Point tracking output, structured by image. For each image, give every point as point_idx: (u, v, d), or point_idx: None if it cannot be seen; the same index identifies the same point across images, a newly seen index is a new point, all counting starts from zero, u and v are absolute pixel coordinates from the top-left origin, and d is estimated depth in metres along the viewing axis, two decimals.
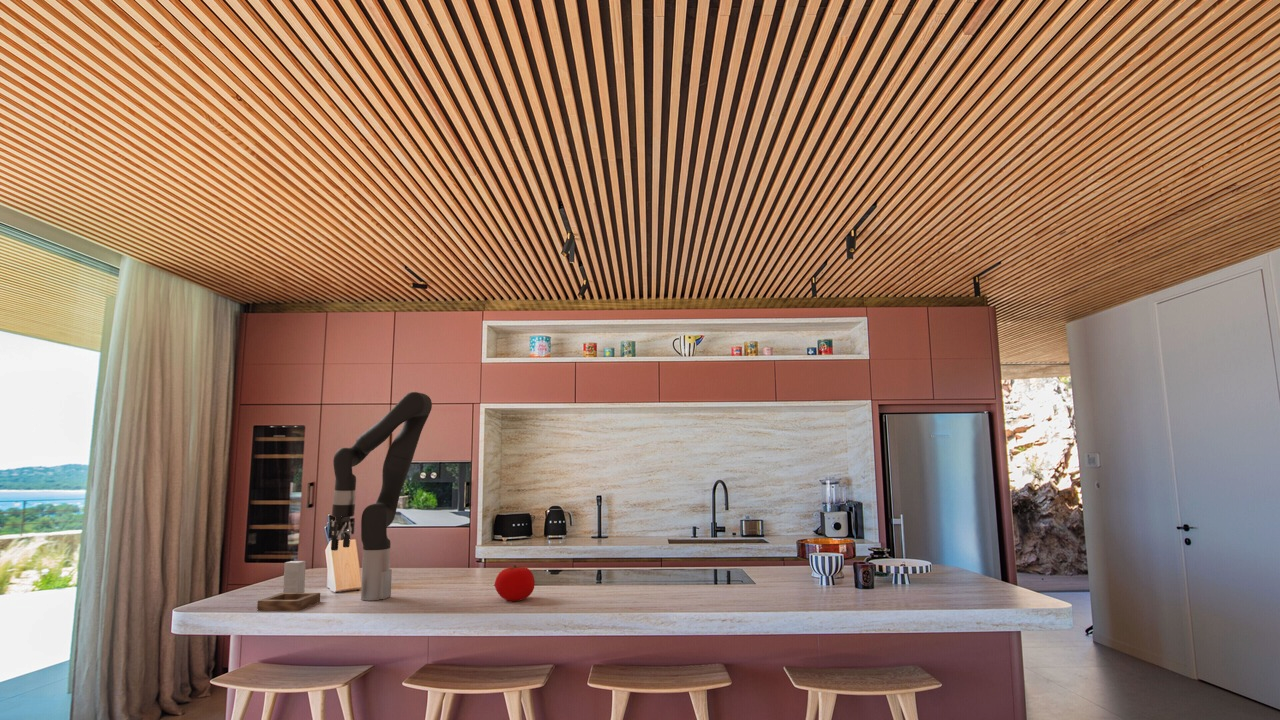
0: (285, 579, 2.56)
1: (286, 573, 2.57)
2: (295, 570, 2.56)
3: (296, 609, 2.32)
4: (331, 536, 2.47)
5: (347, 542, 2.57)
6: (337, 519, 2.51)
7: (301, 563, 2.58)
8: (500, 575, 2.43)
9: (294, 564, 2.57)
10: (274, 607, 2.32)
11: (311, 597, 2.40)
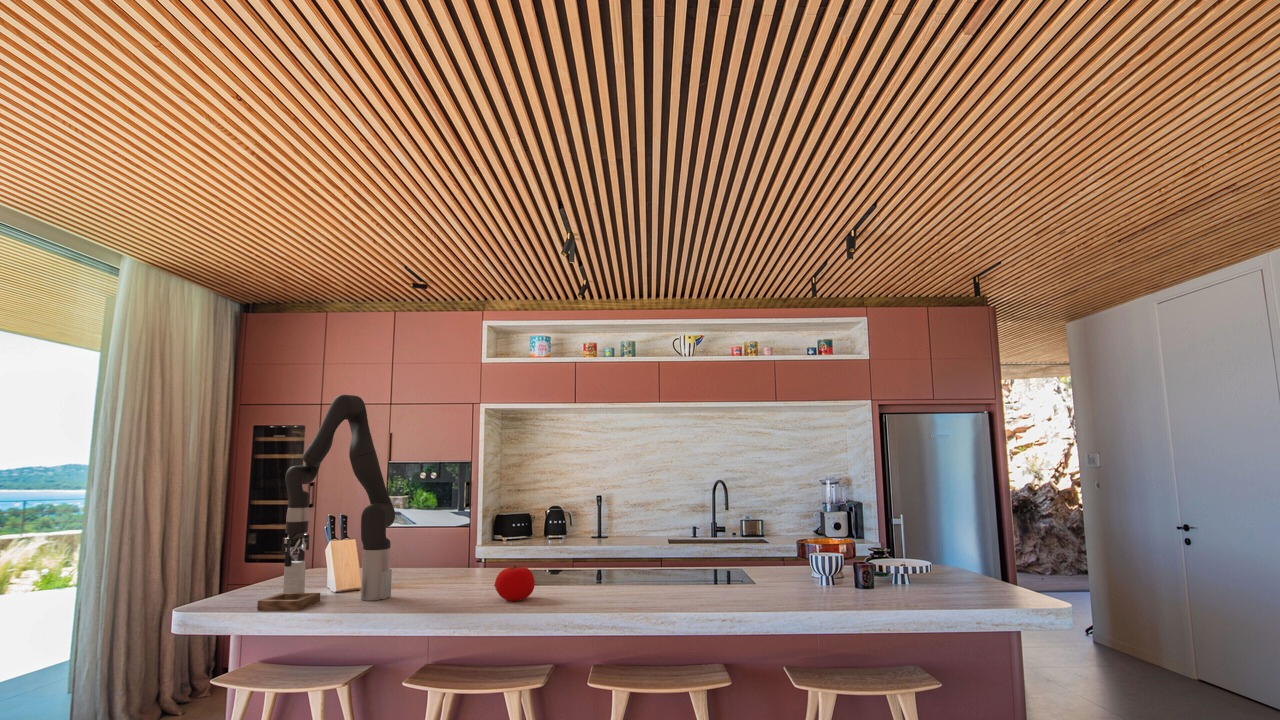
0: (285, 579, 2.56)
1: (286, 573, 2.57)
2: (295, 570, 2.56)
3: (296, 609, 2.32)
4: (284, 553, 2.52)
5: (302, 558, 2.63)
6: (290, 536, 2.56)
7: (301, 563, 2.58)
8: (500, 575, 2.43)
9: (294, 564, 2.57)
10: (274, 607, 2.32)
11: (311, 597, 2.40)
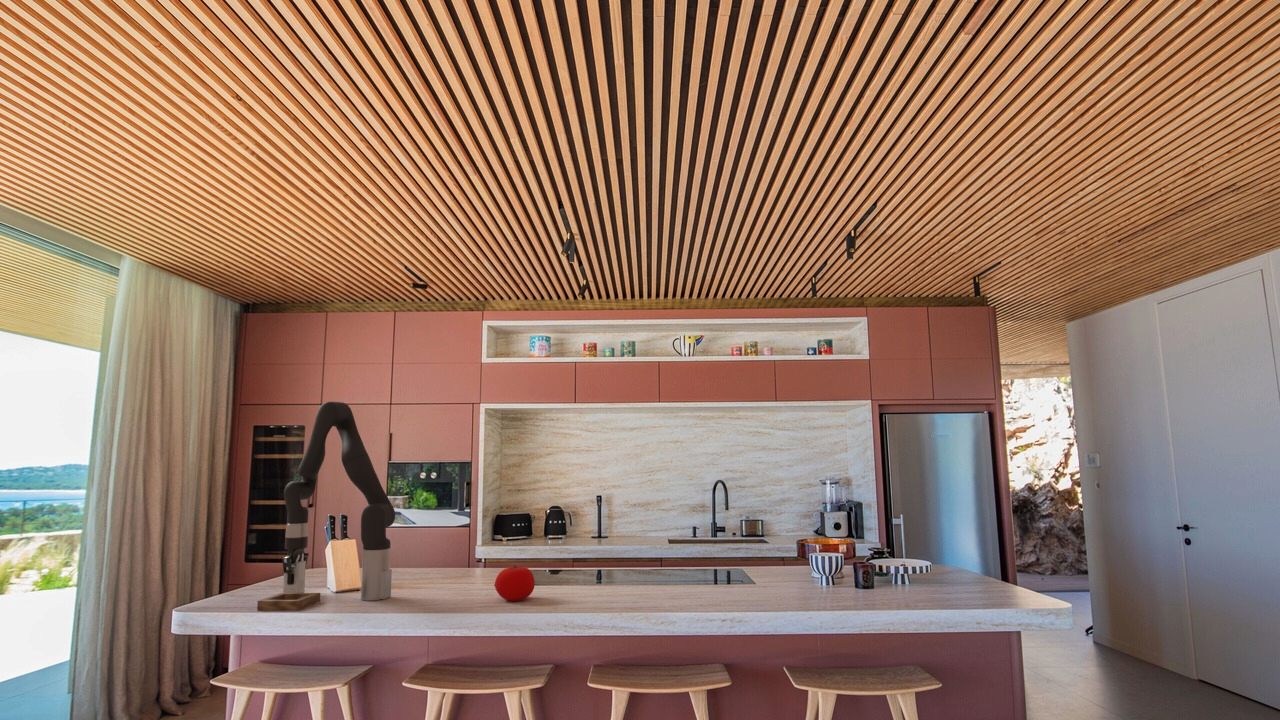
0: (285, 579, 2.56)
1: None
2: None
3: (296, 609, 2.32)
4: (286, 571, 2.53)
5: None
6: (290, 552, 2.56)
7: (301, 563, 2.58)
8: (500, 575, 2.43)
9: None
10: (274, 607, 2.32)
11: (311, 597, 2.40)
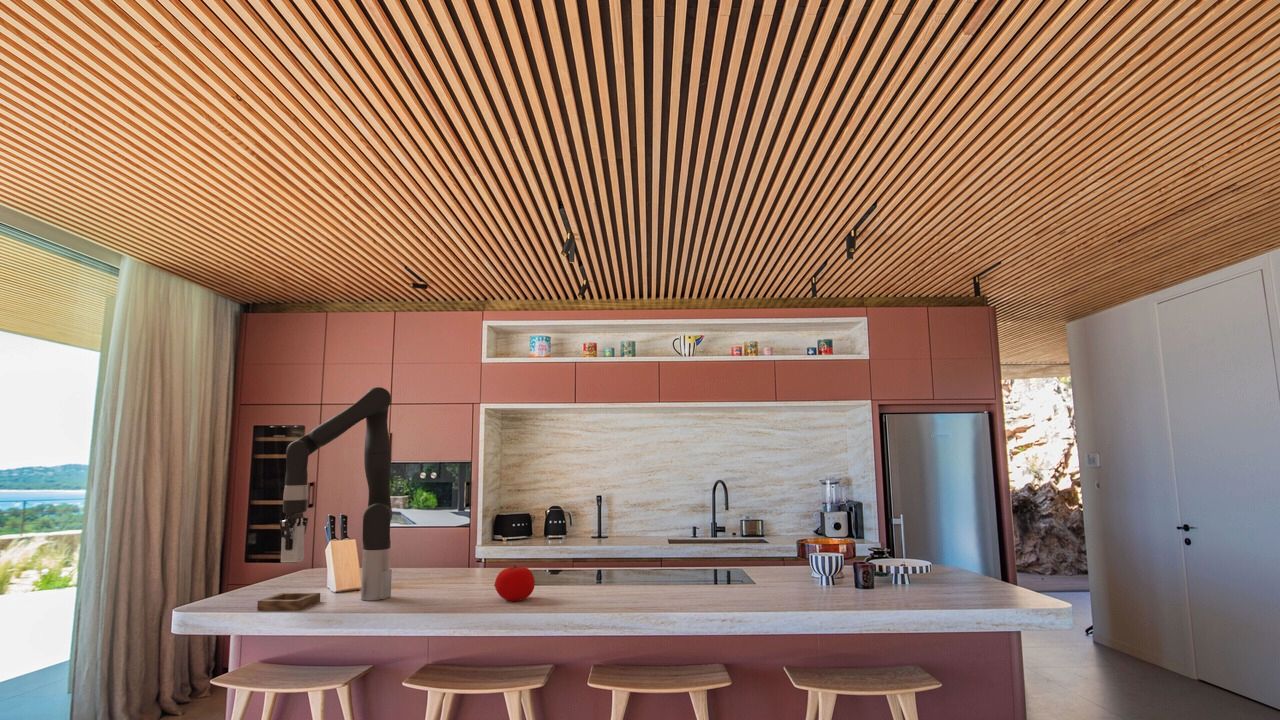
0: (283, 544, 2.40)
1: (284, 538, 2.40)
2: (293, 535, 2.40)
3: (296, 609, 2.32)
4: (284, 535, 2.37)
5: None
6: (288, 515, 2.39)
7: (300, 527, 2.41)
8: (500, 575, 2.43)
9: (292, 528, 2.40)
10: (274, 607, 2.32)
11: (311, 597, 2.40)
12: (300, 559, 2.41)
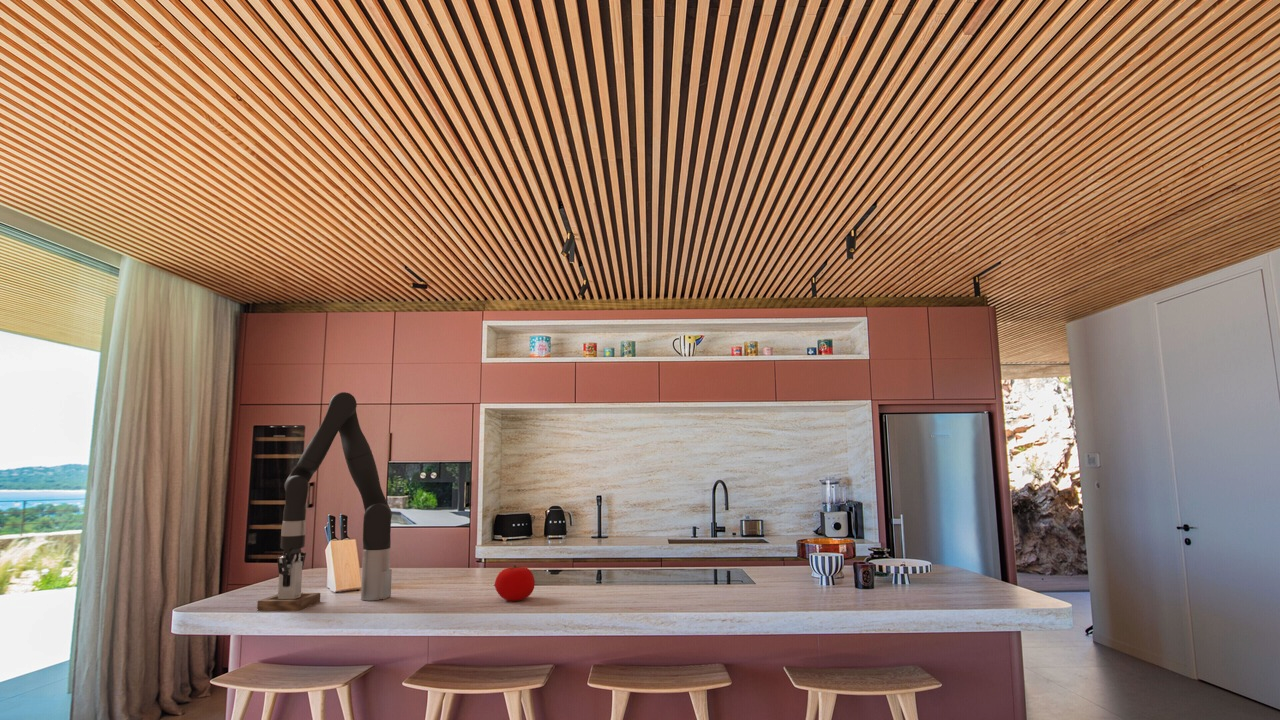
0: (280, 580, 2.38)
1: (281, 574, 2.38)
2: None
3: (296, 609, 2.32)
4: (282, 572, 2.35)
5: None
6: (285, 551, 2.38)
7: (297, 563, 2.40)
8: (500, 575, 2.43)
9: None
10: (274, 607, 2.32)
11: (311, 597, 2.40)
12: (297, 595, 2.39)
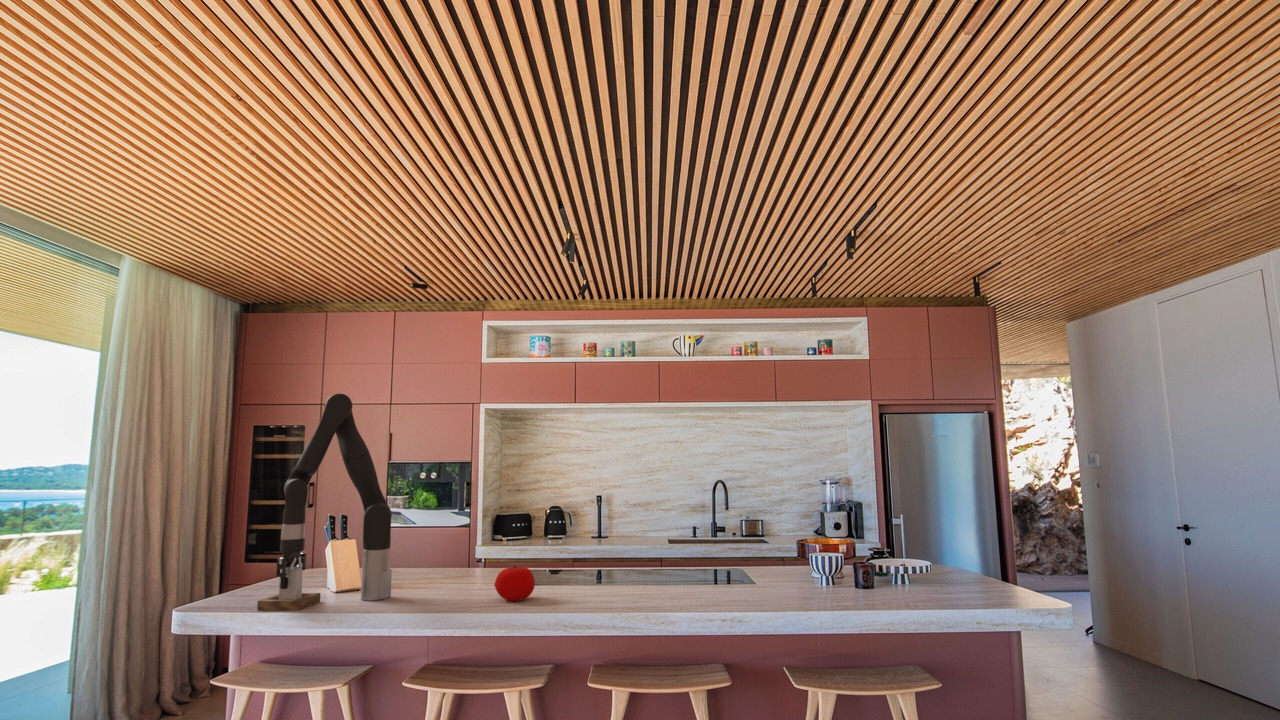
0: (280, 588, 2.38)
1: None
2: (291, 579, 2.38)
3: (296, 609, 2.32)
4: (279, 574, 2.34)
5: None
6: (285, 555, 2.37)
7: (298, 571, 2.39)
8: (500, 575, 2.43)
9: (290, 572, 2.38)
10: (274, 607, 2.32)
11: (311, 597, 2.40)
12: None
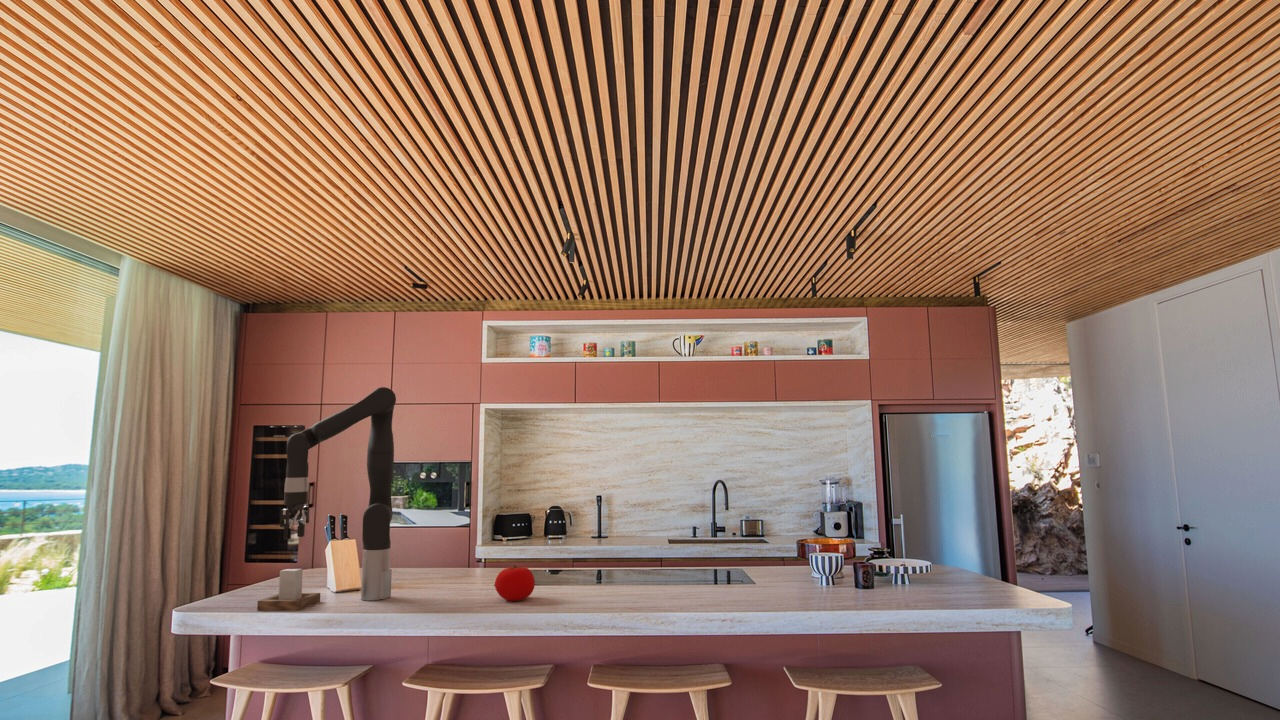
0: (280, 588, 2.38)
1: (281, 582, 2.38)
2: (291, 579, 2.38)
3: (296, 609, 2.32)
4: (283, 525, 2.37)
5: (301, 531, 2.47)
6: (289, 507, 2.41)
7: (298, 571, 2.39)
8: (500, 575, 2.43)
9: (290, 572, 2.38)
10: (274, 607, 2.32)
11: (311, 597, 2.40)
12: None
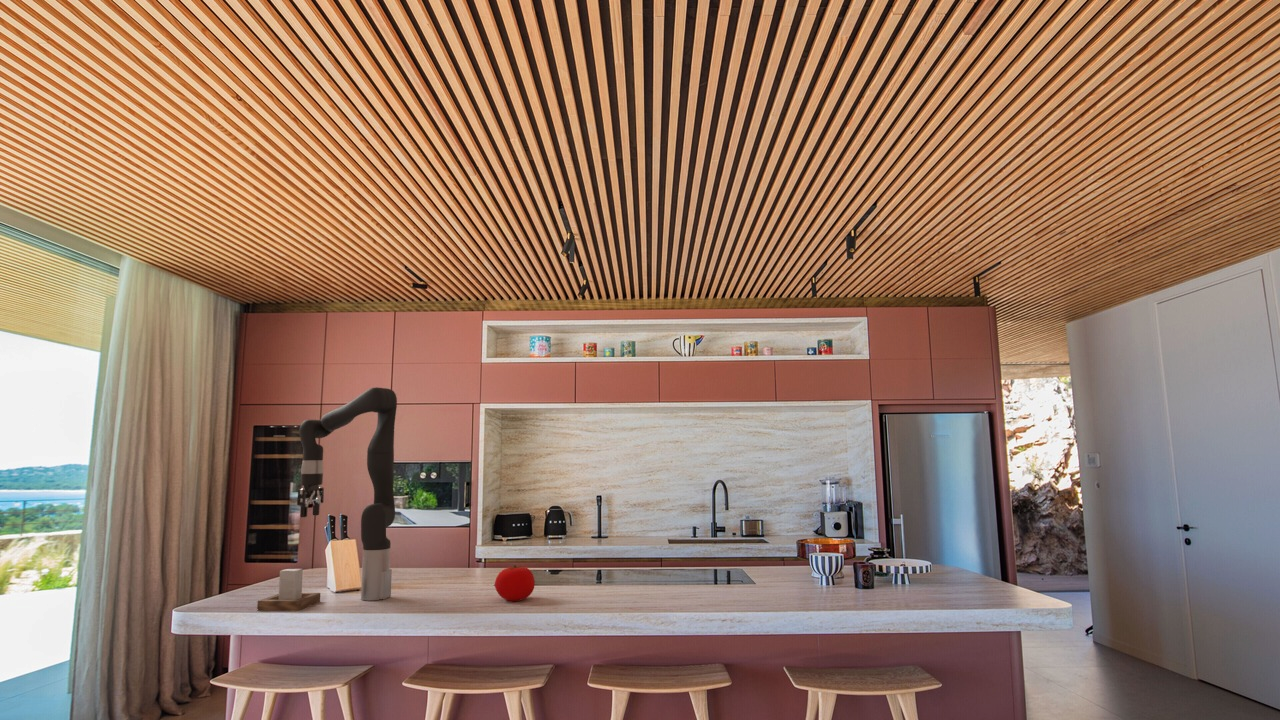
0: (280, 588, 2.38)
1: (281, 582, 2.38)
2: (291, 579, 2.38)
3: (296, 609, 2.32)
4: (300, 503, 2.57)
5: (317, 510, 2.68)
6: (305, 487, 2.62)
7: (298, 571, 2.39)
8: (500, 575, 2.43)
9: (290, 572, 2.38)
10: (274, 607, 2.32)
11: (311, 597, 2.40)
12: None
